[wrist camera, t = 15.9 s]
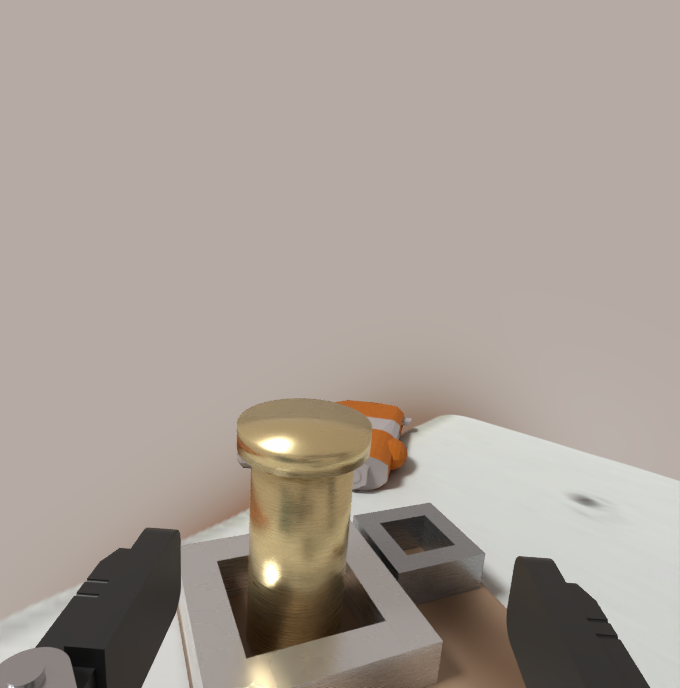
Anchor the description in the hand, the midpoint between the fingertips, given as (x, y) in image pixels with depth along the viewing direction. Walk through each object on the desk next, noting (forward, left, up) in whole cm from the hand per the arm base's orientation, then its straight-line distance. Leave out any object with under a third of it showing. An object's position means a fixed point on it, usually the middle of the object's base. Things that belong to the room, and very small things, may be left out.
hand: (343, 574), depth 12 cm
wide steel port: (-4, -12, -14) cm, 19 cm away
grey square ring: (-13, -15, -13) cm, 24 cm away
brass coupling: (-4, -12, -13) cm, 18 cm away
